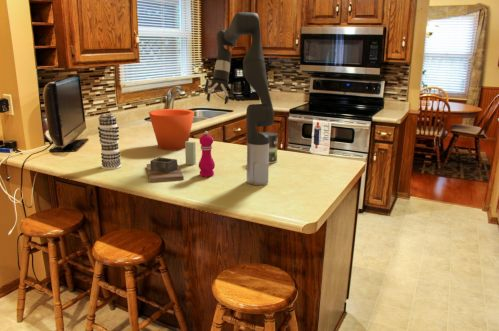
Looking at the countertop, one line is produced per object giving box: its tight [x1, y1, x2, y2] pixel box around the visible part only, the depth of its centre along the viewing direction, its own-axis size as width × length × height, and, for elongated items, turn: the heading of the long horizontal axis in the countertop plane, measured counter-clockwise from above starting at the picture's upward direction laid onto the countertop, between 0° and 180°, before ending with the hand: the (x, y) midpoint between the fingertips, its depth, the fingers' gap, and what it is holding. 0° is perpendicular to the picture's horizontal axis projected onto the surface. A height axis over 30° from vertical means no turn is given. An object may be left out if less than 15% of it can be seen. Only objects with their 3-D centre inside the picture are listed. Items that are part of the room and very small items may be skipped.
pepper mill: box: [198, 130, 216, 178], centre depth 186 cm, size 7×7×20 cm
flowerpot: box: [148, 108, 195, 151], centre depth 237 cm, size 25×25×20 cm
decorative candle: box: [97, 113, 122, 170], centre depth 196 cm, size 9×9×25 cm
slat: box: [184, 140, 197, 166], centre depth 204 cm, size 4×2×11 cm, turn 67°
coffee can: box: [259, 131, 279, 165], centre depth 211 cm, size 10×10×14 cm
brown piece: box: [146, 157, 185, 183], centre depth 190 cm, size 14×24×6 cm, turn 17°
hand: (216, 102), depth 212 cm, fingers open, 8 cm apart
